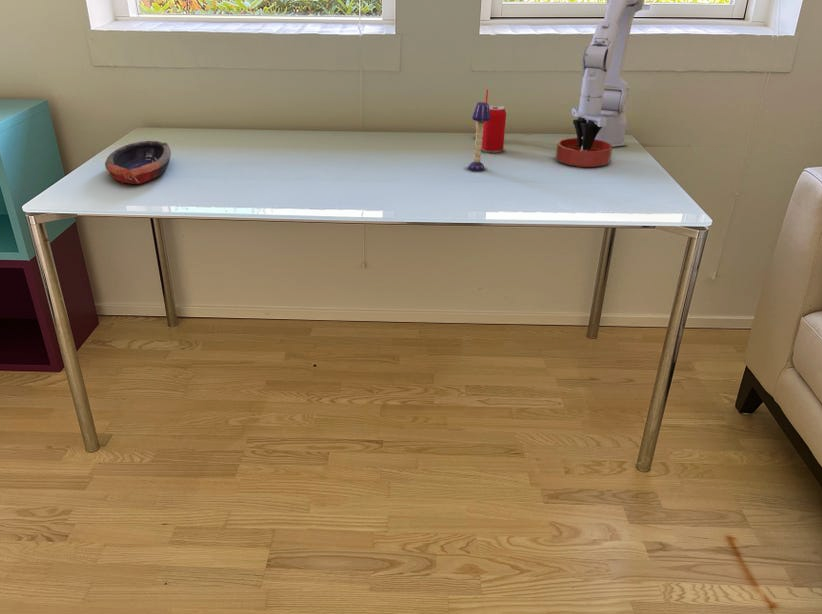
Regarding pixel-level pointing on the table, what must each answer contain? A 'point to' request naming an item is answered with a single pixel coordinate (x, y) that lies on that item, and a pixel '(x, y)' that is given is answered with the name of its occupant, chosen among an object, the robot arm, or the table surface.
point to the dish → (138, 161)
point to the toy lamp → (479, 133)
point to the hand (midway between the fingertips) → (584, 148)
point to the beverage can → (494, 130)
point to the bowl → (583, 153)
